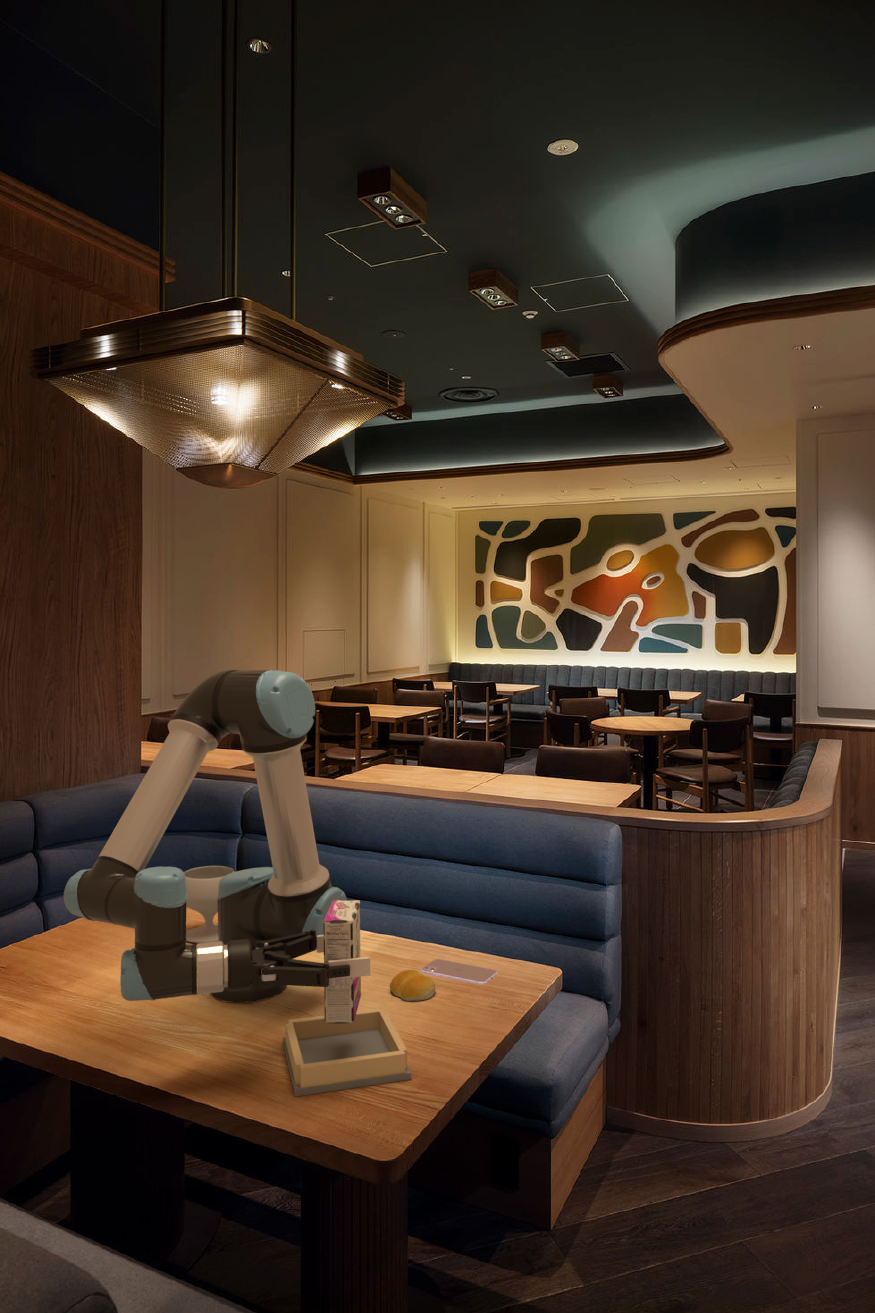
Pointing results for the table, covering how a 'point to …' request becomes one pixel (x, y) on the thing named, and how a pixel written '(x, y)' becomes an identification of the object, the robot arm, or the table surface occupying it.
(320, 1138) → the table surface
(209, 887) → the chalice
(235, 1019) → the table surface
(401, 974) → the bread roll
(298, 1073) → the shallow square tray
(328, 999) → the candy bar box
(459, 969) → the mobile phone
